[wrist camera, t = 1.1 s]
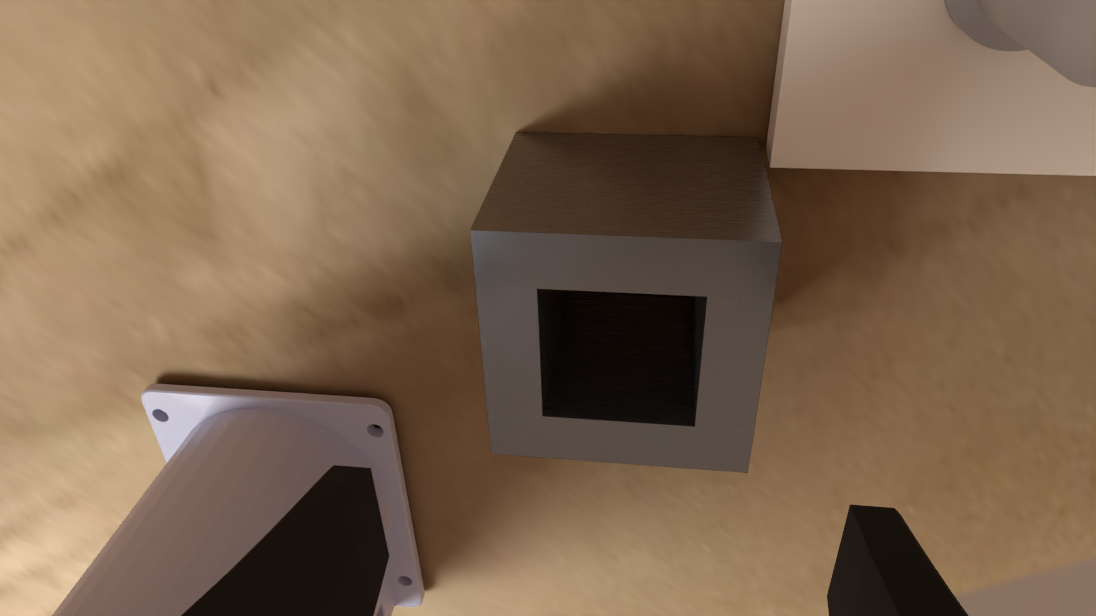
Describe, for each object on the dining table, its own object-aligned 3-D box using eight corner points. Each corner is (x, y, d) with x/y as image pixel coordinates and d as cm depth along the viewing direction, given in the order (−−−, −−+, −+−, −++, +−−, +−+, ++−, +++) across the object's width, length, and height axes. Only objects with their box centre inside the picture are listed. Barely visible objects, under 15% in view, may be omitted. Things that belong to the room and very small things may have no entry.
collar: (733, 338, 21) (747, 472, 17) (526, 326, 22) (491, 454, 18) (758, 137, 18) (782, 242, 14) (515, 132, 19) (470, 230, 15)
